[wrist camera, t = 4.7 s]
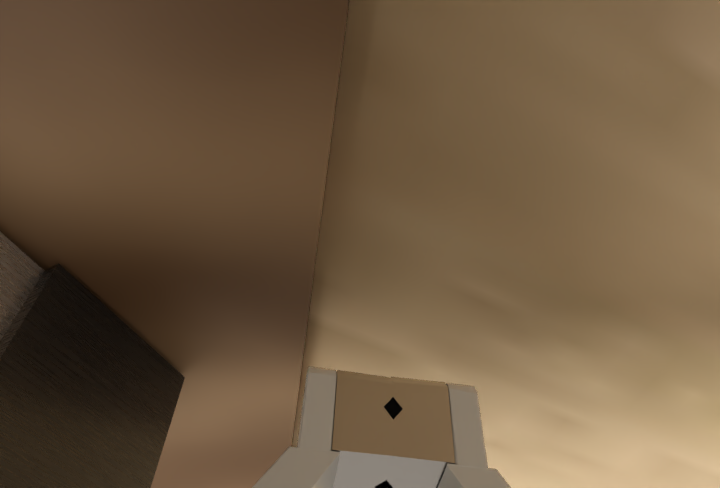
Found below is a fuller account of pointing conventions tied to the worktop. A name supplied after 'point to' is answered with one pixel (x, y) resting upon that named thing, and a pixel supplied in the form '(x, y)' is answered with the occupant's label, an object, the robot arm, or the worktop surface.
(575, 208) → the worktop surface
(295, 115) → the tongs base
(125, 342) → the jaw
